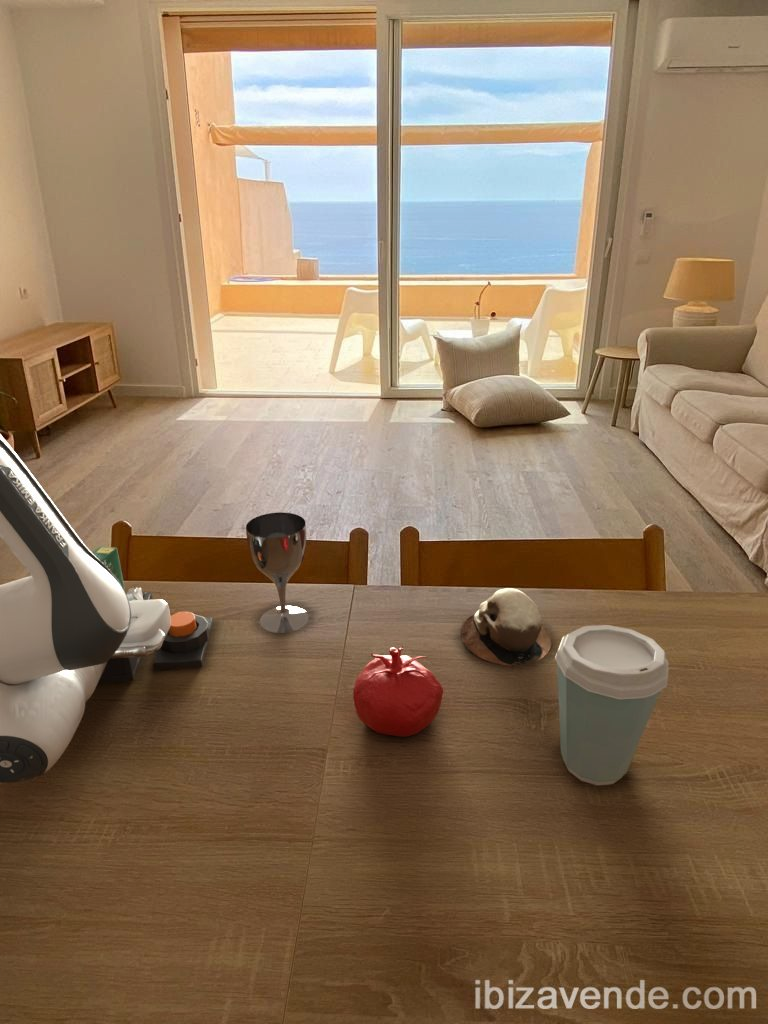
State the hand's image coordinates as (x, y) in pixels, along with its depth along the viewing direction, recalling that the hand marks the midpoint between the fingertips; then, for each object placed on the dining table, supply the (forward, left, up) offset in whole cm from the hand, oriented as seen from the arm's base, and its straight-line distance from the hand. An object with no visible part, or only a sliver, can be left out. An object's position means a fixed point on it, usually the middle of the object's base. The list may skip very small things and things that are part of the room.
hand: (99, 594), depth 90 cm
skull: (+53, -4, -8) cm, 54 cm away
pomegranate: (+37, -18, -8) cm, 42 cm away
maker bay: (0, -1, -8) cm, 8 cm away
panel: (+10, -1, -8) cm, 13 cm away
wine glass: (+23, +4, -8) cm, 25 cm away
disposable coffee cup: (+57, -27, -8) cm, 64 cm away
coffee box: (0, -1, -8) cm, 8 cm away
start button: (+10, -1, -6) cm, 12 cm away
